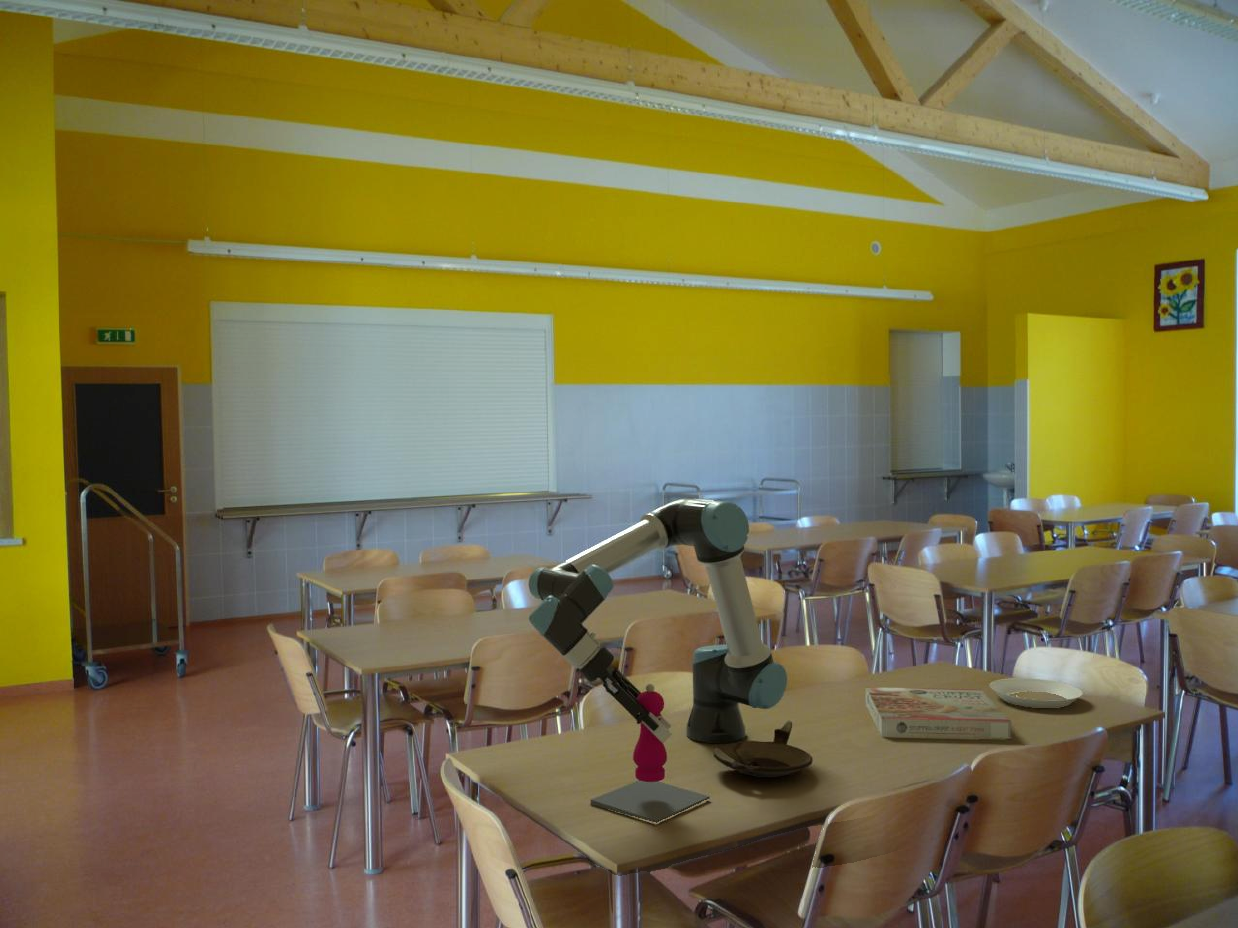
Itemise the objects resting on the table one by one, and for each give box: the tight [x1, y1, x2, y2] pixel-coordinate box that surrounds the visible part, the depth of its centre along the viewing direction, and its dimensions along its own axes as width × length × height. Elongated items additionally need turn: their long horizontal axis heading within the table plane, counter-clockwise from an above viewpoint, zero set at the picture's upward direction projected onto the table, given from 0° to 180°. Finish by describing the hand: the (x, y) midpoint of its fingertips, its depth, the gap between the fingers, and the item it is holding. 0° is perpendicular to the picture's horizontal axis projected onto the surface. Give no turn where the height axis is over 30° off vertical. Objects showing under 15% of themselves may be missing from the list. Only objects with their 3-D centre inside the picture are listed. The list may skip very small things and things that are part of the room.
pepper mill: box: [632, 683, 668, 782], centre depth 225 cm, size 7×7×20 cm
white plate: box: [989, 677, 1084, 709], centre depth 305 cm, size 25×25×4 cm
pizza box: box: [865, 686, 1012, 740], centre depth 285 cm, size 32×5×32 cm
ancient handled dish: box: [712, 720, 814, 778], centre depth 246 cm, size 22×30×8 cm
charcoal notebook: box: [590, 779, 711, 823], centre depth 225 cm, size 18×18×1 cm
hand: (667, 733), depth 225 cm, fingers closed on pepper mill, 5 cm apart
